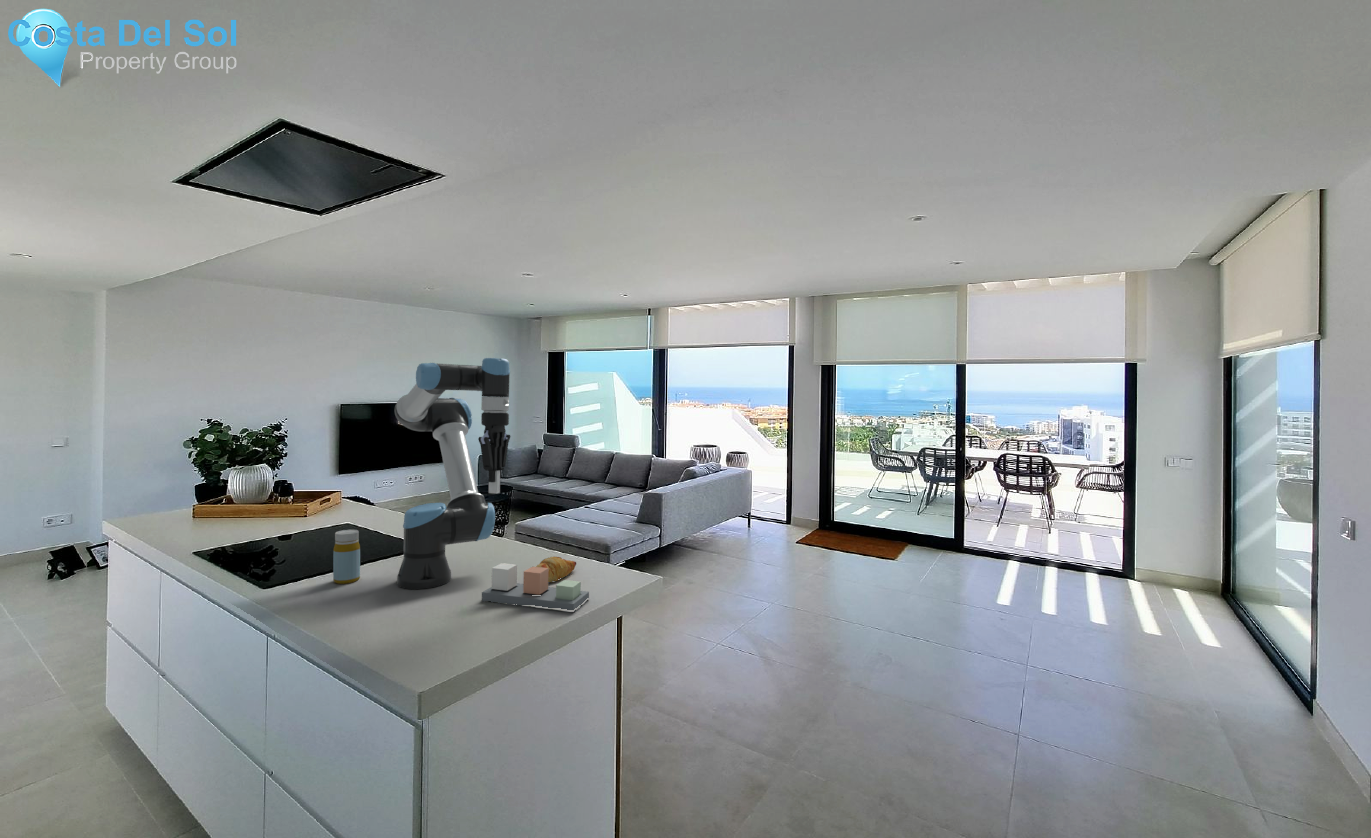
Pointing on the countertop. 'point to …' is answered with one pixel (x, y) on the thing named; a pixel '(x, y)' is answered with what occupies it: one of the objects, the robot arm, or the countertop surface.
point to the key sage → (568, 590)
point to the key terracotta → (535, 580)
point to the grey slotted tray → (532, 598)
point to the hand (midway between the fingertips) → (494, 492)
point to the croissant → (557, 567)
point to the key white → (504, 576)
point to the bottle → (346, 557)
